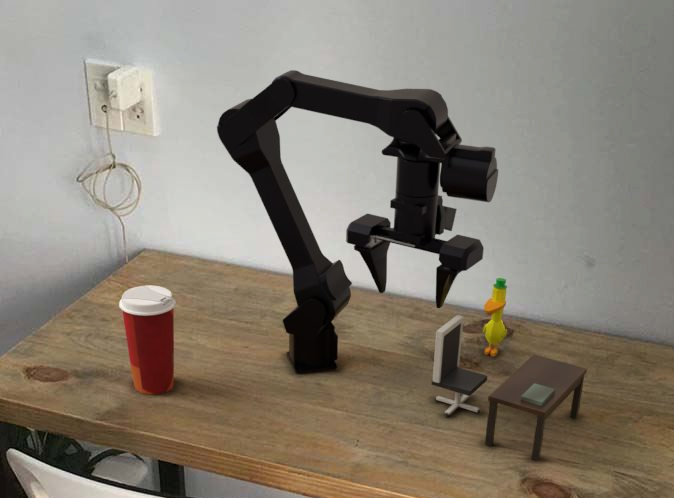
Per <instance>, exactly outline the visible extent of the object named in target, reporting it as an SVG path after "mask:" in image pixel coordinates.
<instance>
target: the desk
mask: <svg viewBox="0 0 674 498" xmlns="http://www.w3.org/2000/svg"><path fill="white" fill-rule="evenodd" d="M587 372H588V368H586V367H582V366H579V365H575V364H571V363H567V362H564V361H561V360H557V359H553V358H550V357H546V356H542V355H539V354H535V353H533V354H532V355H531V356H530V357H529V358H528V359H527V360H525V361H524V362H523V363H522V364H521V365H520V366H519V367H518V368H517V369H516V370H515V371H514V372H513V373H512V374H510V375H509V376H508V378H506V379H505V380H504V381H503V382H502V383H500V385H499V386H497V387H496V388H495V389H494V390H493V391H492V392H491V393H490V394H489V395H488V400H487V401H489V405H488V411H487V412H488V414H487V423H486V431H485V438H484V439H485V441H484V445H485V446H488V447H492V446H493V445H494V441H495V434H496V433H495V432H496V425H497V424H496V423H497V414H498V405H502V406H505V407H509V408H512V409H516V410H518V411H522V412H524V413H525V412H526V413H529V414H532V415H536V423H535V429H534V437H533V444H532V450H531V460H532V461H535V462H538V461H539V460H540V458H541V452H542V444H543V438H544V431H545V426H546V425H545V424H546V420H547V419H549V417H550V416H551V415H552V414H553V413H554V412H555V411H556V410H557V409H558V408H559V407H560V406H561V404H562V403H564V401H565V400H566V399H567V398H568V397H569V396H570V395H571V394H572V393H573V395H572V401H571V408H570V413H569V417H570V418H572V419H577V418H578V417H579V412H580V407H581V401H582V395H583V386H584V381H585V376H586V374H587Z"/></svg>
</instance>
